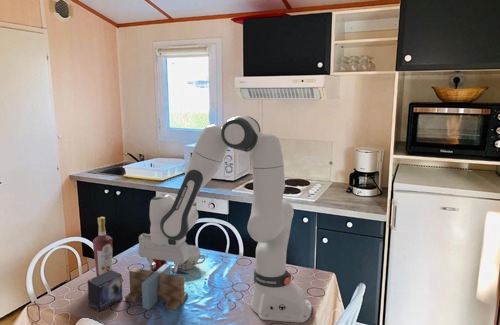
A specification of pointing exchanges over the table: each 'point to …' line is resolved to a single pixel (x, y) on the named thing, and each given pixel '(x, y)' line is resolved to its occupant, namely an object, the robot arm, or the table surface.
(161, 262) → the soda can
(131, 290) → the walnut slotted board
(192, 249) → the teacup
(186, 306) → the table surface
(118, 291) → the small box
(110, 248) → the liquor
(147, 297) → the blue-gray flat plate
